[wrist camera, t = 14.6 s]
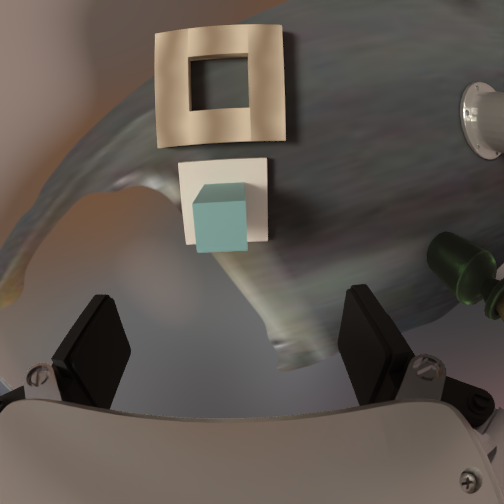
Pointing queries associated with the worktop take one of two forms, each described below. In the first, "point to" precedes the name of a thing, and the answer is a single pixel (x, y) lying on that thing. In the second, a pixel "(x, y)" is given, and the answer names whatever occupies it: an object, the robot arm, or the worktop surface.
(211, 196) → the teal block
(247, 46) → the pocket base
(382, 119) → the worktop surface
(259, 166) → the tile
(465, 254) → the potion bottle
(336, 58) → the worktop surface
